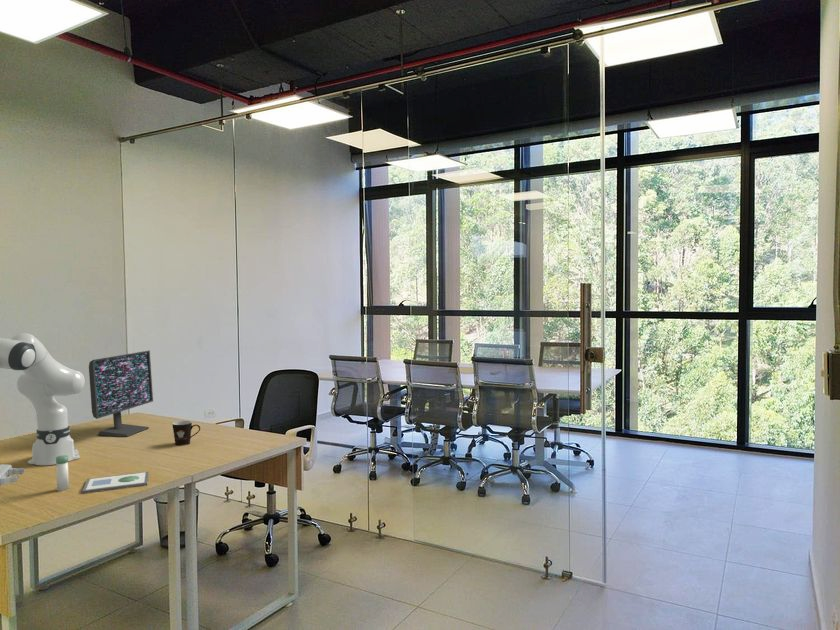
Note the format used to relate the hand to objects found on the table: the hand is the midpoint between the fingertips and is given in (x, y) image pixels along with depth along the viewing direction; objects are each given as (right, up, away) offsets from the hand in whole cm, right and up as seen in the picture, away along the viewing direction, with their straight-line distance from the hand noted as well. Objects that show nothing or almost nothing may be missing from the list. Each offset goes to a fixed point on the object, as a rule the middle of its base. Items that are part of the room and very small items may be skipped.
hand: (20, 474), depth 204 cm
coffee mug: (+31, -4, +67) cm, 74 cm away
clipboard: (+28, -6, +12) cm, 31 cm away
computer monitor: (-10, -4, +91) cm, 91 cm away
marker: (+12, -7, +6) cm, 14 cm away
